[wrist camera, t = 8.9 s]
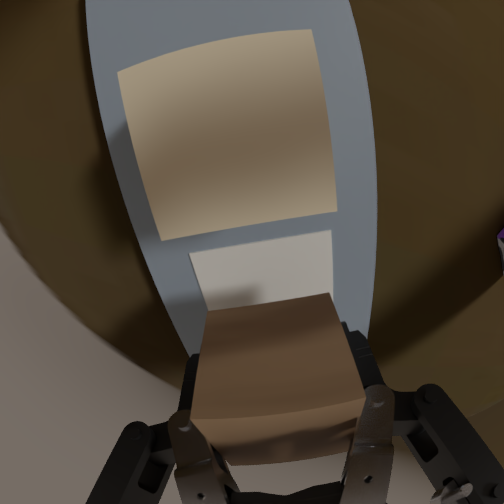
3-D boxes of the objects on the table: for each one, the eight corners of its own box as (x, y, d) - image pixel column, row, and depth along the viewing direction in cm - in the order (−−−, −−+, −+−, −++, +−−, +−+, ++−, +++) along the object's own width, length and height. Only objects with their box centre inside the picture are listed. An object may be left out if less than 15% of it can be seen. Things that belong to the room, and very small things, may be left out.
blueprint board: (95, -14, 7) (84, -21, 6) (315, -61, 6) (321, -72, 5) (199, 360, 19) (197, 373, 18) (360, 336, 18) (366, 349, 17)
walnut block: (207, 310, 11) (189, 418, 7) (329, 292, 11) (366, 396, 6) (234, 380, 13) (231, 465, 9) (328, 366, 13) (348, 451, 9)
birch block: (168, 85, 10) (117, 72, 5) (285, 62, 9) (311, 29, 5) (193, 191, 12) (161, 241, 8) (304, 172, 12) (337, 210, 7)
